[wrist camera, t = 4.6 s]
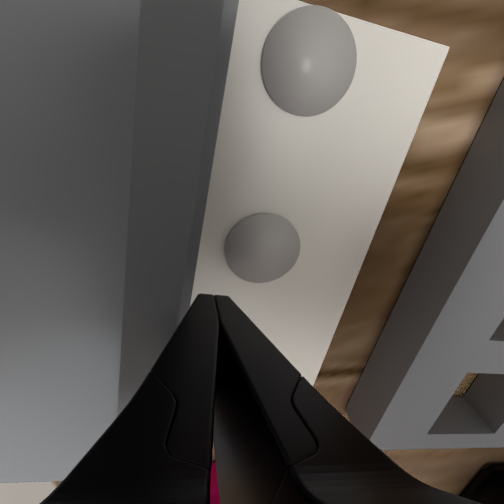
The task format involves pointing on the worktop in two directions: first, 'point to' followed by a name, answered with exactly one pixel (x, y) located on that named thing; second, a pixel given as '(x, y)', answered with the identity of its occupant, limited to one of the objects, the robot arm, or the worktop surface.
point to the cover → (98, 207)
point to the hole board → (447, 321)
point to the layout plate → (306, 164)
